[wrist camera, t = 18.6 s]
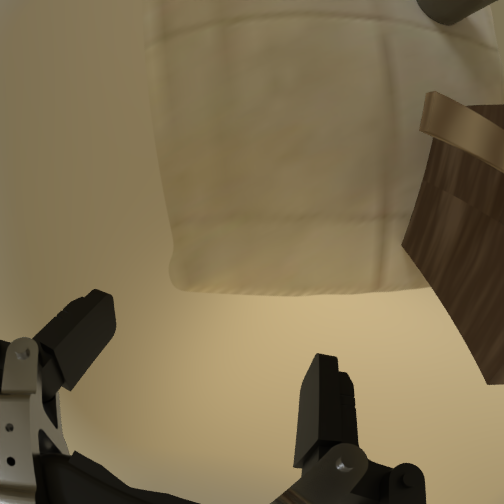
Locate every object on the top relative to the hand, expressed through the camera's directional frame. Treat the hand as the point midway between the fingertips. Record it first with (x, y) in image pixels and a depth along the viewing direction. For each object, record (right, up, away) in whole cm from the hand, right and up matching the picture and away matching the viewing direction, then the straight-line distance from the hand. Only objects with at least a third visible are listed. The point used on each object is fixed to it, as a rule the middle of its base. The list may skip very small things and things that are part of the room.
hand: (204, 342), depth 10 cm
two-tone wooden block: (+36, +14, +29) cm, 49 cm away
